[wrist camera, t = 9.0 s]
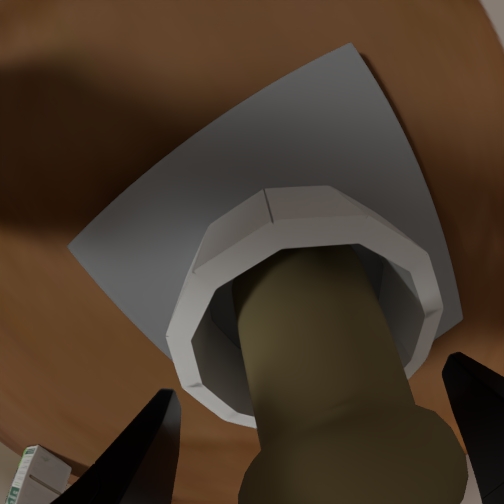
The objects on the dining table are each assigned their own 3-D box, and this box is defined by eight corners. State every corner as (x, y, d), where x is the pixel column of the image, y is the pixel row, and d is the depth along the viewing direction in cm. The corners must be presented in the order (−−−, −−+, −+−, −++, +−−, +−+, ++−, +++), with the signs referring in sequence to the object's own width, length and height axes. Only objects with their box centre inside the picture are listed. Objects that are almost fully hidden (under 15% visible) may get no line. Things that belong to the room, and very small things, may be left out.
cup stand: (256, 417, 18) (258, 479, 14) (76, 238, 13) (18, 288, 8) (455, 310, 15) (497, 360, 11) (343, 48, 10) (396, 11, 5)
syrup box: (37, 443, 23) (5, 528, 10) (74, 468, 25) (49, 551, 12) (26, 446, 24) (-4, 521, 11) (59, 469, 26) (35, 543, 13)
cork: (387, 282, 13) (516, 485, 3) (299, 361, 15) (335, 568, 5) (298, 196, 11) (473, 502, 1) (203, 299, 13) (158, 566, 3)
